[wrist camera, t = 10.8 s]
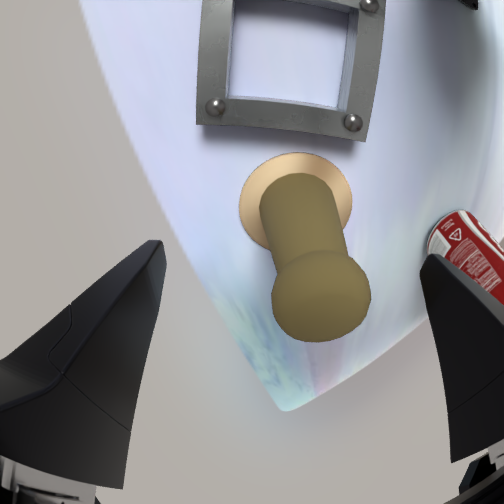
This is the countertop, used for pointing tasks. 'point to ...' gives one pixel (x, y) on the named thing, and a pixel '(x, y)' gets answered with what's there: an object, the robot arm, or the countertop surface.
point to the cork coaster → (280, 168)
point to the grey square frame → (286, 111)
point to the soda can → (470, 250)
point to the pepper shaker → (311, 261)
